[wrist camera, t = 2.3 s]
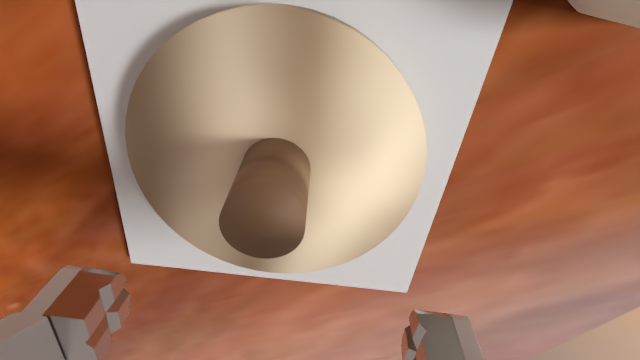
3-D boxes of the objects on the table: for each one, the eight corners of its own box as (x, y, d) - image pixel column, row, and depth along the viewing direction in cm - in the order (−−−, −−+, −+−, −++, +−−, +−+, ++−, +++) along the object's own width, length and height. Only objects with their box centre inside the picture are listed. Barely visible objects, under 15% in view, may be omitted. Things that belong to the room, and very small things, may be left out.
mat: (135, 256, 21) (131, 262, 21) (67, -75, 13) (58, -77, 12) (405, 285, 22) (406, 292, 22) (511, -13, 13) (517, -11, 13)
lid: (155, 246, 20) (108, 326, 16) (110, -19, 13) (6, -4, 9) (387, 271, 21) (402, 353, 16) (461, 26, 14) (519, 61, 10)
